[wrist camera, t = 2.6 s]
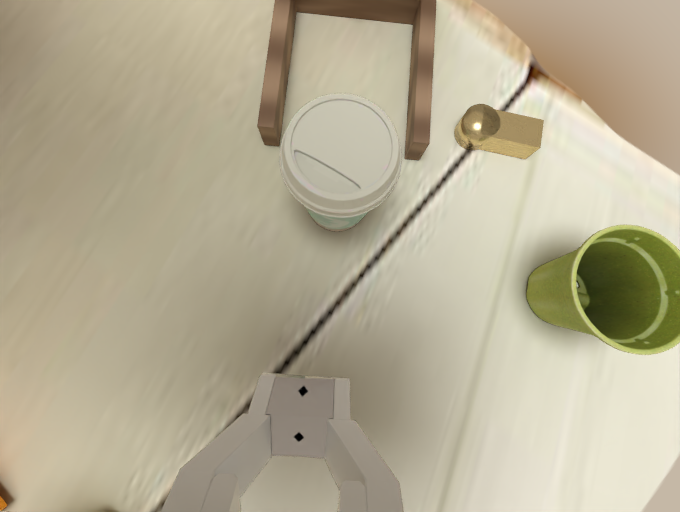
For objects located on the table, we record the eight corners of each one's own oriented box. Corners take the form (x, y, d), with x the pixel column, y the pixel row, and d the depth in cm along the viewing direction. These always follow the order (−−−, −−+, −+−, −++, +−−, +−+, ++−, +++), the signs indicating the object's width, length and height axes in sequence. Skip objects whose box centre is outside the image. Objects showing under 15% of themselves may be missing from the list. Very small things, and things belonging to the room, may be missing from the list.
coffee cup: (280, 185, 33) (252, 116, 21) (355, 150, 34) (369, 65, 22) (317, 260, 32) (311, 232, 20) (394, 222, 33) (431, 173, 21)
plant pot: (488, 278, 32) (546, 268, 24) (561, 229, 33) (642, 201, 25) (546, 361, 31) (629, 381, 23) (620, 307, 32) (726, 307, 24)
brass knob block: (452, 146, 34) (461, 133, 32) (457, 115, 35) (467, 100, 32) (524, 161, 34) (539, 150, 32) (528, 130, 35) (543, 117, 32)
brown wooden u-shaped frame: (418, 160, 34) (451, 107, 25) (264, 144, 33) (241, 86, 25) (427, 8, 37) (458, -88, 28) (285, -8, 36) (271, -109, 27)
